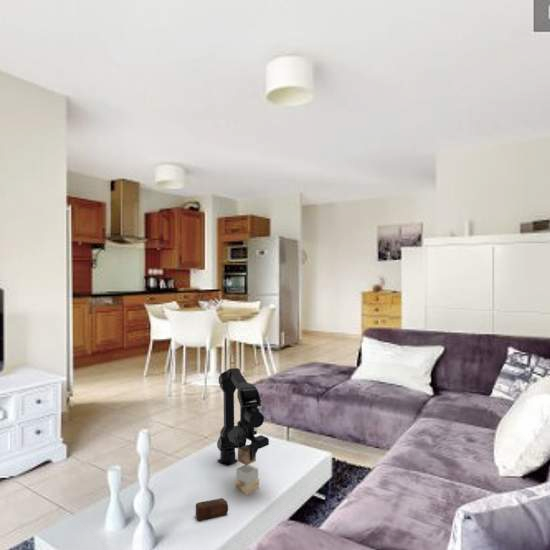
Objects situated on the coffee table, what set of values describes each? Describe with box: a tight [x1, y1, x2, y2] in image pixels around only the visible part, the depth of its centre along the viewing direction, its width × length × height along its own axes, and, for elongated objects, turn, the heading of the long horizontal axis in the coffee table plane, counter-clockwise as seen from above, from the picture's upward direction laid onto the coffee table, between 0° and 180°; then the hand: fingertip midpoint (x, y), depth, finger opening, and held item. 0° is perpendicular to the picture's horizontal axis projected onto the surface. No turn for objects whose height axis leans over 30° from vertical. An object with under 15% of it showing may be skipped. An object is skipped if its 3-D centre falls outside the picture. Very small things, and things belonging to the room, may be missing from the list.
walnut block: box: [237, 444, 257, 465], centre depth 162 cm, size 5×5×5 cm
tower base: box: [234, 478, 260, 495], centre depth 162 cm, size 6×6×4 cm
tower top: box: [235, 463, 259, 484], centre depth 163 cm, size 6×6×4 cm
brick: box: [195, 497, 229, 522], centre depth 144 cm, size 11×4×5 cm, turn 114°
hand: (246, 458), depth 162 cm, fingers closed on walnut block, 5 cm apart
